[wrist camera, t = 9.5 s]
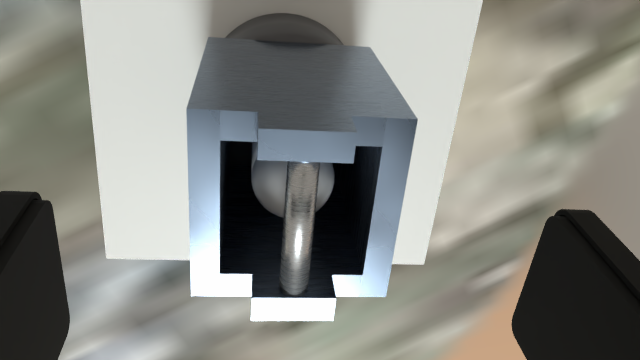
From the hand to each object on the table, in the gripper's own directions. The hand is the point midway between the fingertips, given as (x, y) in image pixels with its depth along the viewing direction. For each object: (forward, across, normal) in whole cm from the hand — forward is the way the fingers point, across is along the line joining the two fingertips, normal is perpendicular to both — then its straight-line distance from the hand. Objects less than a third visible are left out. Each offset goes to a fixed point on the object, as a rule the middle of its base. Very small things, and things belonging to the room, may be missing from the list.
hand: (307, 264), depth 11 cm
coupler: (+9, 0, +1) cm, 9 cm away
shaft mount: (+13, 0, +1) cm, 13 cm away
